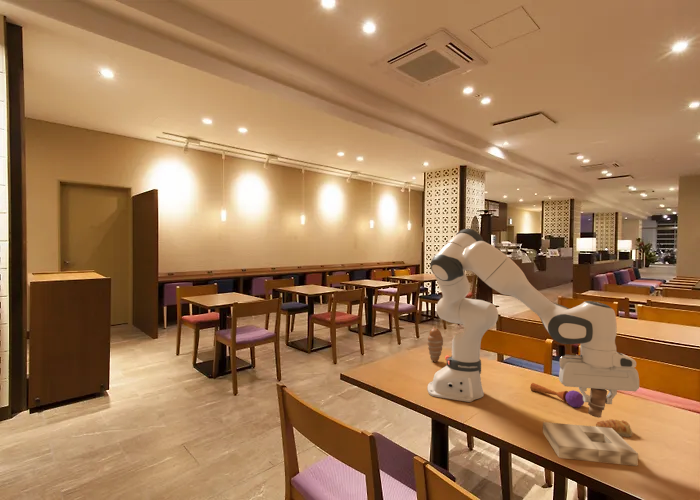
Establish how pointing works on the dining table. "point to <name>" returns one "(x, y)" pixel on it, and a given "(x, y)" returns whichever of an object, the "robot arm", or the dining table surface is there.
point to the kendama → (562, 395)
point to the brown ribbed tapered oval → (435, 344)
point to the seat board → (589, 443)
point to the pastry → (617, 427)
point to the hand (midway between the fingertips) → (597, 402)
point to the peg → (597, 402)
